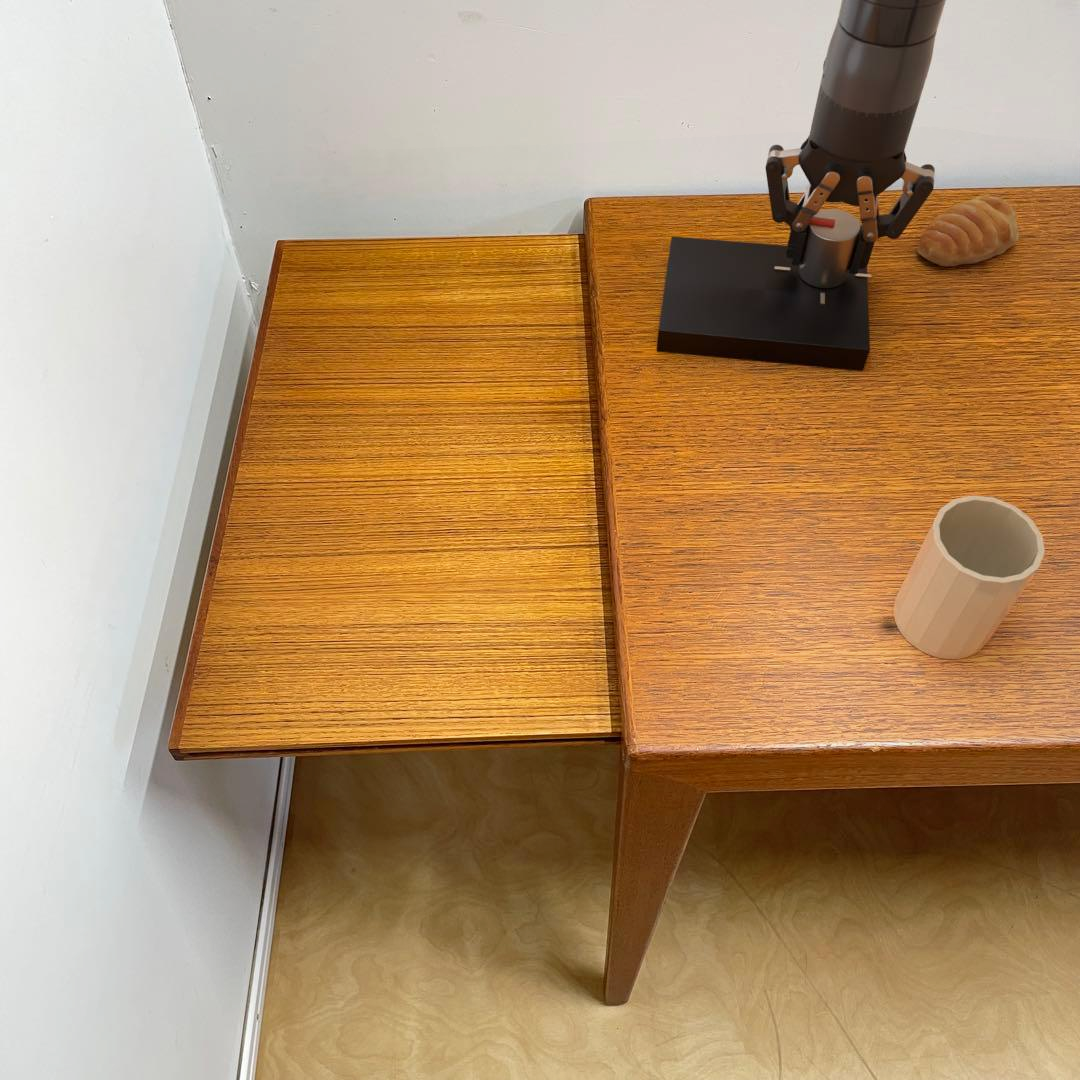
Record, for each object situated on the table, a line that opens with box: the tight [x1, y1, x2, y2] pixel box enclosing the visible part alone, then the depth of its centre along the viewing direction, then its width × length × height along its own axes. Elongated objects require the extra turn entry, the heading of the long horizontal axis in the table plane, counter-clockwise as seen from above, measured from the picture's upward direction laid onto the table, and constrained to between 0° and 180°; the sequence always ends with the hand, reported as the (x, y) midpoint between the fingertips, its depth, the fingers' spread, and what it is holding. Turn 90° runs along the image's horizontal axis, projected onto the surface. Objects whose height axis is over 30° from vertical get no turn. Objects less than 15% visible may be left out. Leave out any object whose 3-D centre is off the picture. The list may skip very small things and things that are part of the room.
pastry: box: [917, 193, 1020, 268], centre depth 94 cm, size 9×7×4 cm
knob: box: [798, 208, 862, 288], centre depth 88 cm, size 4×4×6 cm
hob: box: [656, 235, 872, 372], centre depth 90 cm, size 18×14×3 cm
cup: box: [892, 494, 1046, 660], centre depth 67 cm, size 7×7×10 cm
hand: (825, 263), depth 89 cm, fingers closed on knob, 4 cm apart
